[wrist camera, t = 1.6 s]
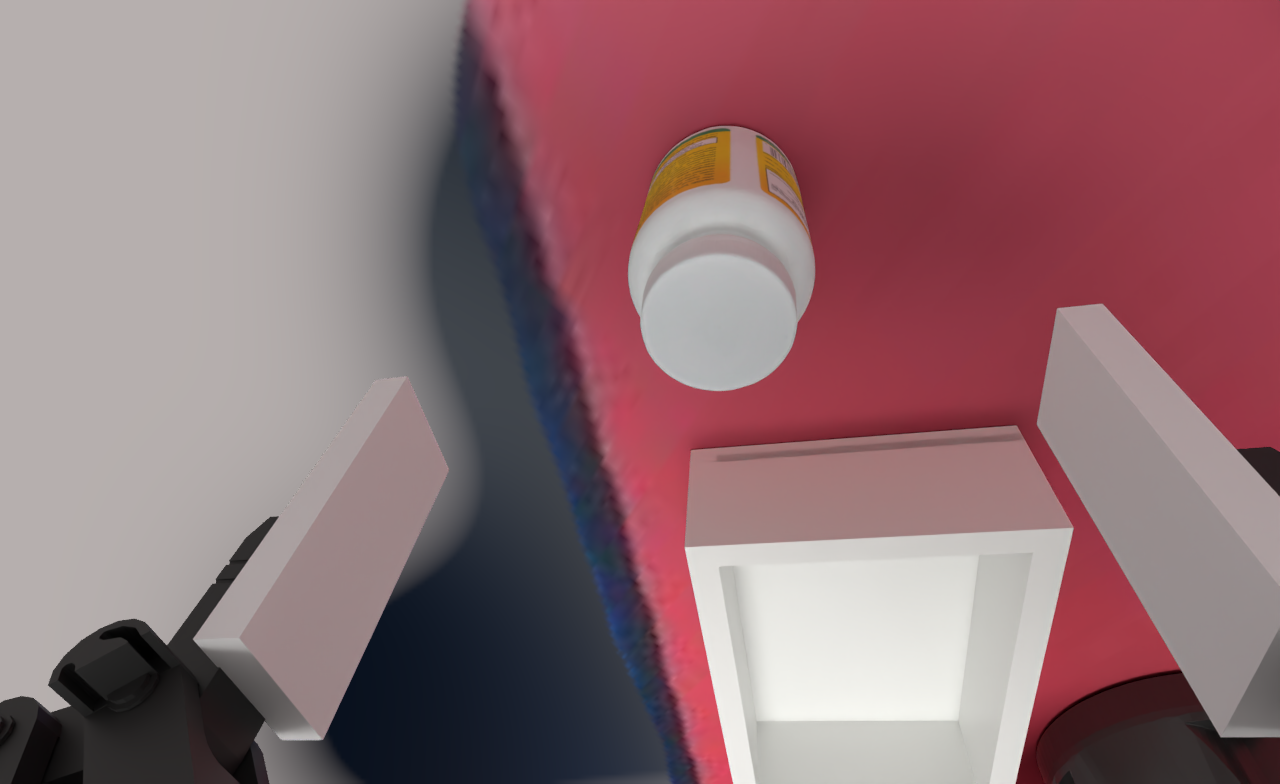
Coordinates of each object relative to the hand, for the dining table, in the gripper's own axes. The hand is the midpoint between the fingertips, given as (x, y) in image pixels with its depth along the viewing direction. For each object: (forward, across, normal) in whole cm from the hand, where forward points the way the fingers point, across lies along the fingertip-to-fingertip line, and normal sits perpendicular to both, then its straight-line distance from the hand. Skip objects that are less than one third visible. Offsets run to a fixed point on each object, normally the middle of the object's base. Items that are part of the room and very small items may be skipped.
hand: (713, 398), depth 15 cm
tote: (+13, -4, +23) cm, 27 cm away
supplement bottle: (+13, 0, 0) cm, 13 cm away
